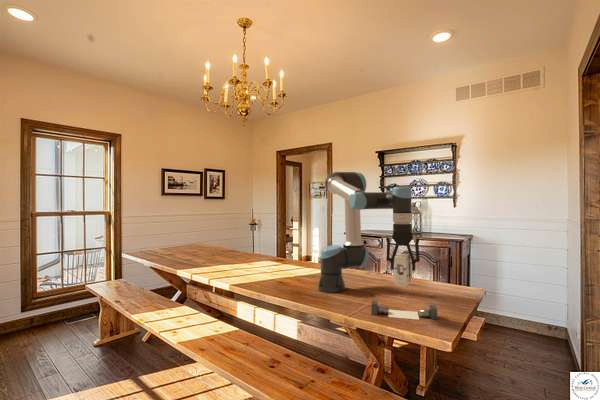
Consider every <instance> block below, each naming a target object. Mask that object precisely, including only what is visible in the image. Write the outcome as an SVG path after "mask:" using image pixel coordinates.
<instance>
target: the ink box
mask: <svg viewBox="0 0 600 400" xmlns="http://www.w3.org/2000/svg"><path fill="white" fill-rule="evenodd" d="M394 262H395V278H394V285H399V286H408V285H409V284H410V282H412V281H411V280H412V279H410V262H412V260H411V257H410V254H409V253H398V254H396V256H395V259H394Z"/></svg>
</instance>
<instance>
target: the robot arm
mask: <svg viewBox="0 0 600 400" xmlns="http://www.w3.org/2000/svg"><path fill="white" fill-rule="evenodd" d="M324 186H325V189H326V190H327V191H328V192H329V193H331V194H332V195H338V196H339V197H341V198H342V199H344V227H345V228H344V229H345V241H344V242H343V244H342V245H339V244H337V245H336V244H334V245H332V244H331V245H328V246H324V247H323V248H321V249H320V255H319V256H320V277H319V280H318V282H317V290H318V291H320V292H324V293H333V294H334V293H341V292H344V291H346V283H345V280H344V277H343V270H346V269H347V270H348V269H358V268H364V267H365V266H366V265H367V263H368V261H369V251H368V248H367V247H366V246H365V243H364V242H362V230H361V227H362V226H361V222H362V221H361V211H362V210H392V222H393V224H392V236H386V237H385V240H386V258H385V259H386V261H388V262H390V270H391V271H392V270H393V279H395V256H397V252H398V249H399V246H406V248H407V251H408V252H407V253H408V254H410V257H411V262H410V279H411V280H413V272H414V271H416V263H420V250H419V249H420V248H419V247H420V246H419V242H420V238H419V237H417V236H416V237H415V236H413V229H412V228H413V227H412V224H411V223H413V220H412V218H413V217H412V190H411V189H412V188H411V187H409V186H394V187H393V188H392V191H390V192H389V191H385V192H384V191H382V192H381V191H377V192H376V191H375V192H374V191H373V192H367V191H366V189H367V180H366V178H365V175H364V174H363V173H361V172H355V171H335V172H332V173H330V174H328V176H327V177H326V178H325V181H324ZM392 240H393V241H394V243H395V244H394V245H395V246H394V249H393V251H392V254H391V243H392ZM412 240H413V242H414V247H415V250H414V251H415V257H414V255H413V251H412V248H411V246H410V243H411V241H412ZM390 254H391V255H390ZM390 256H391V257H390Z"/></svg>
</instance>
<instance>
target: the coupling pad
mask: <svg viewBox="0 0 600 400" xmlns="http://www.w3.org/2000/svg"><path fill="white" fill-rule="evenodd" d="M418 312H419V311H413V310H412V311H411V310H397V309H388V318H389V319H390V318H391V319H402V320H413V321H420V315H419V313H418Z"/></svg>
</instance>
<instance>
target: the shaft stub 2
mask: <svg viewBox="0 0 600 400" xmlns="http://www.w3.org/2000/svg"><path fill="white" fill-rule="evenodd" d="M428 306H429V308H428V309H423V308H419V309H418V310H419V311H418V312H419V313H418V316H419V318H420V317H421V318H430V320H431V321H432V320H434V321H438V308H437V305H435V304H429V305H428Z"/></svg>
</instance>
